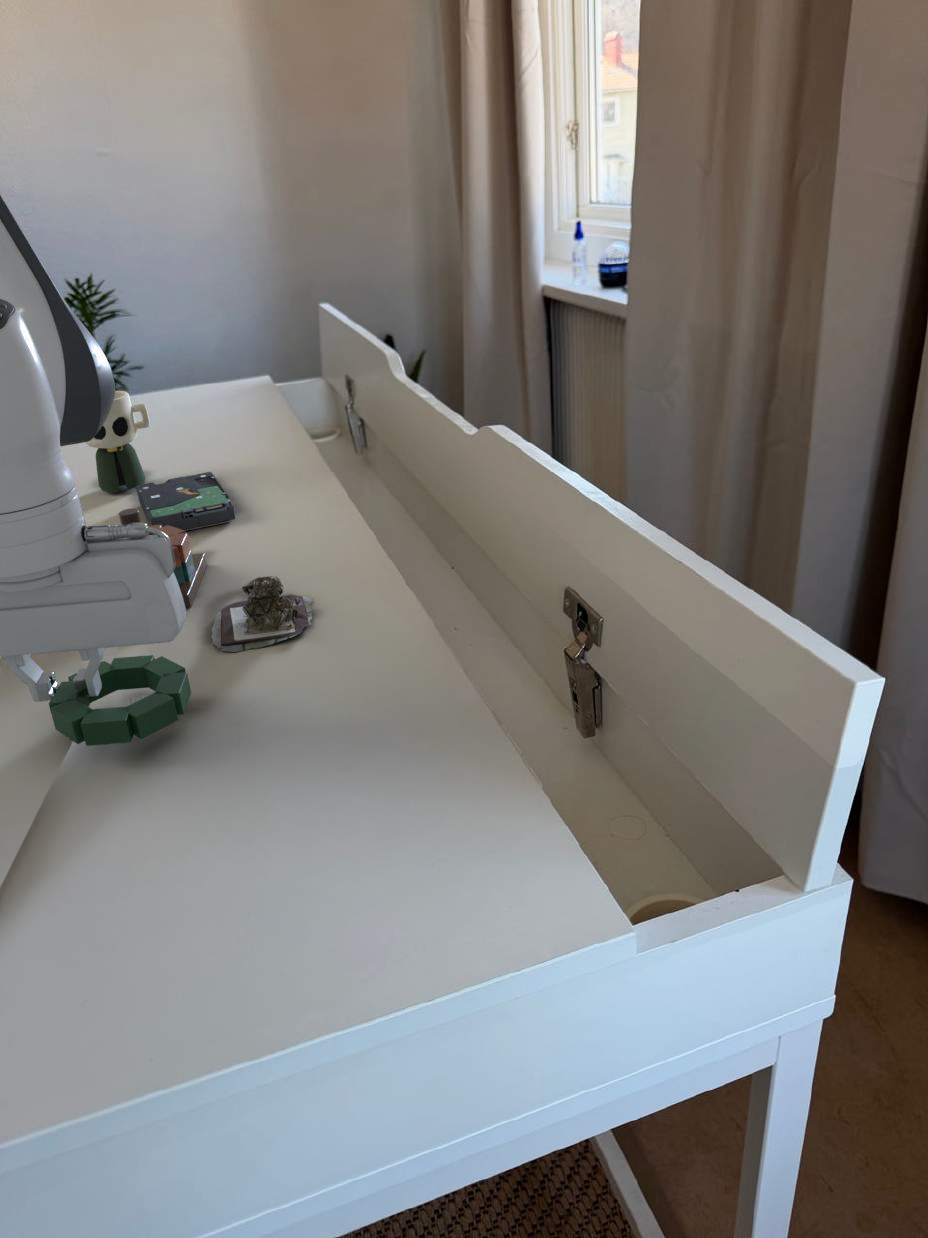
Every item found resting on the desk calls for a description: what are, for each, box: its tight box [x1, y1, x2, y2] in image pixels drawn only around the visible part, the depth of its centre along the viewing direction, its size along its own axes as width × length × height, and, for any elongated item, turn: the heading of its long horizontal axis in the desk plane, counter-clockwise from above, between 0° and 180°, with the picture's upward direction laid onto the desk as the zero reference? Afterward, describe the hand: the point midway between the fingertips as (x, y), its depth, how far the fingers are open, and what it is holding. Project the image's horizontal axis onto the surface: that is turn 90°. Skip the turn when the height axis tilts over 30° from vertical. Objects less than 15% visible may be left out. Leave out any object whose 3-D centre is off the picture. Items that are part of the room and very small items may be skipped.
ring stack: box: [118, 508, 208, 609], centre depth 99 cm, size 11×11×9 cm
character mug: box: [85, 390, 151, 493], centre depth 130 cm, size 11×7×13 cm, turn 111°
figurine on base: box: [210, 575, 314, 653], centre depth 92 cm, size 12×6×11 cm
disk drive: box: [135, 471, 236, 532], centre depth 122 cm, size 10×3×15 cm
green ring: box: [48, 654, 192, 747], centre depth 75 cm, size 10×10×2 cm
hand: (68, 695), depth 74 cm, fingers closed on green ring, 2 cm apart
